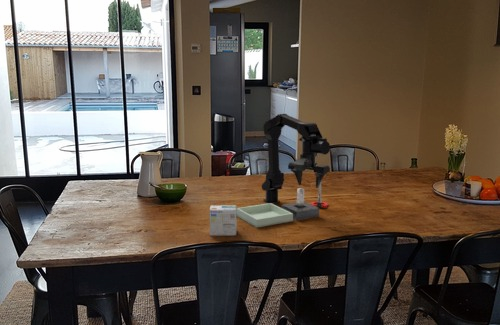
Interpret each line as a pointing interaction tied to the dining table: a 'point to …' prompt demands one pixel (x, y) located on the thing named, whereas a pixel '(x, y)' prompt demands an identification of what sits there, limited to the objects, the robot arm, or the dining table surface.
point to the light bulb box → (223, 220)
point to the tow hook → (319, 200)
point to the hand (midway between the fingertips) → (308, 186)
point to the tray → (264, 215)
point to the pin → (300, 198)
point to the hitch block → (302, 211)
